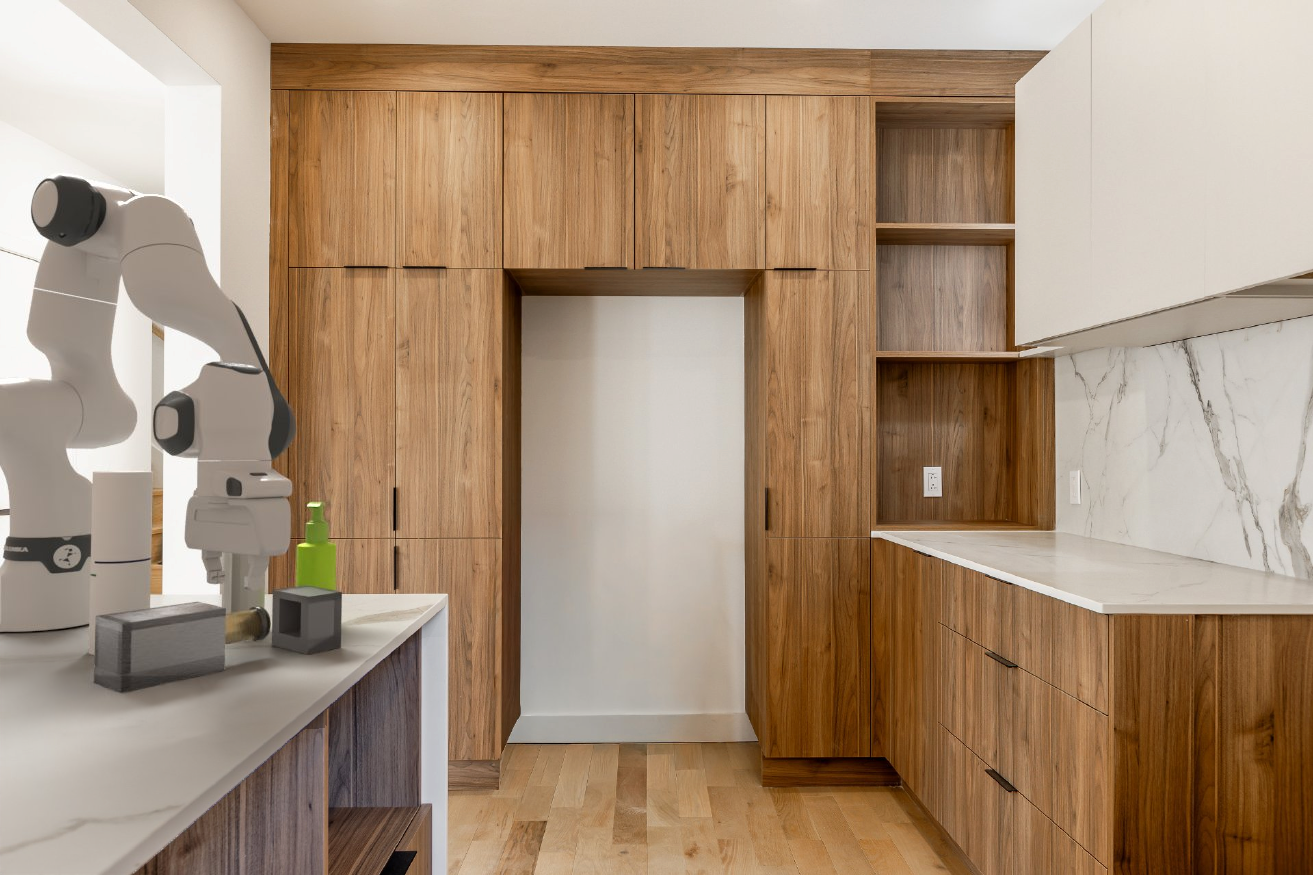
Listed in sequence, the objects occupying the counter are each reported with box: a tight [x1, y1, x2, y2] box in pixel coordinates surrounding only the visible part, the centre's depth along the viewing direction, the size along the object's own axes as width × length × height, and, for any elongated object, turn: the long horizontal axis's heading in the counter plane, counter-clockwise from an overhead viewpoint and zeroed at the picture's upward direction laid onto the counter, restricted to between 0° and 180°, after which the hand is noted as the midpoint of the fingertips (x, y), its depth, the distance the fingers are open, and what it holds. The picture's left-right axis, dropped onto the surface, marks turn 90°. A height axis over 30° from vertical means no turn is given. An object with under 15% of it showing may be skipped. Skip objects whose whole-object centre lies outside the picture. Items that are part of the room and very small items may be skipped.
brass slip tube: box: [225, 606, 272, 646], centre depth 106 cm, size 16×5×5 cm, turn 145°
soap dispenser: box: [295, 501, 337, 591], centre depth 131 cm, size 6×7×20 cm
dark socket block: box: [271, 585, 343, 655], centre depth 118 cm, size 5×9×8 cm, turn 55°
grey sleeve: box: [93, 601, 226, 694], centre depth 101 cm, size 12×7×8 cm, turn 145°
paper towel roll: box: [221, 552, 266, 614], centre depth 127 cm, size 7×6×21 cm
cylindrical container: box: [88, 470, 154, 656], centre depth 115 cm, size 7×7×25 cm
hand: (234, 586), depth 109 cm, fingers open, 8 cm apart
